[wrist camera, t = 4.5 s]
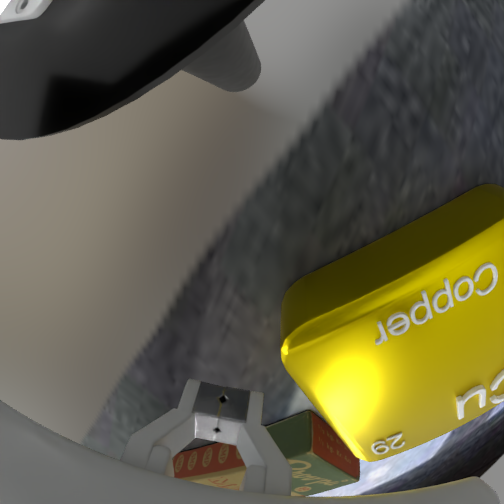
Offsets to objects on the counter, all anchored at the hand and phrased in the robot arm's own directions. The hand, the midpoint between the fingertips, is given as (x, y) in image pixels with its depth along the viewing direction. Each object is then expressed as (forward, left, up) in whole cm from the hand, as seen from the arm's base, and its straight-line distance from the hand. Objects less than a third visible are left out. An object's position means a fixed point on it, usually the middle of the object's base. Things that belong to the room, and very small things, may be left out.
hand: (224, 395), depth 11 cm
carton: (+4, -17, -7) cm, 18 cm away
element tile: (+12, 0, -7) cm, 13 cm away
